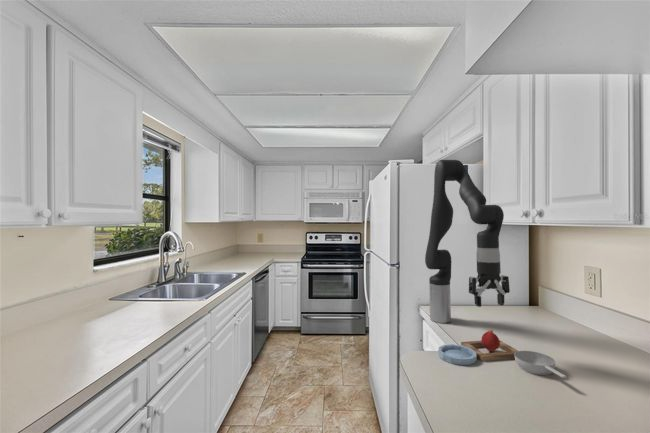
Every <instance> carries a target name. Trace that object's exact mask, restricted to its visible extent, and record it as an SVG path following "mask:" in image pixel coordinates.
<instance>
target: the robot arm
mask: <svg viewBox="0 0 650 433" xmlns="http://www.w3.org/2000/svg"><path fill="white" fill-rule="evenodd" d="M433 180H434V181H433V183H434V184H433V200H432V206H431V207H432V208H431V216H430V227H429V236H428V241H427V245H426V251H425V258H424V262H425V266H426V268H427V269H428V270H438V272H437V273H435V274H434V275H431V276H430V277H429V279H428V280H429V282H428V283H429V319H430V321H432V322H433V323H439V324H447V323H450V322H452V309H451V308H452V306H451V279H452V255H451V253H450V251H449V250H448V249H439V247H440V246H439V245H440V243H441V240H442V239H443V238H444V237H445V235H446V234H447V233H448V231H449V230H450V229H451V227H452V225H453V218H454V208H453V206H452V203H451V202H450V200H449V198H448V195H447V193H446V182H457V183H458V184H459V188H458V189H459V190H458V194H459V196H460V199H461V200H462V202H463V203H464V204H465V205H466V207H467V210H468V213H469V216H470V219H471V221H472V222H474V223H475V224H476V225H477V224H478V225H487V226H486V228H485V229H484V230H481V231H479V232H477V233H476V273H477V276H476V277H474V276H469V277H468V293H469V294H471V295H473V296H474V304H475V306H476V307H478V308H479V307H482V294H483V293H484V292H485V291H486V290H490V289H491V290H494V291H495V292H496V294H497V295H496V296H497V297H496V298H497V305H499V306H504V304H505V295H506V294H510V292H511V291H510V290H511V289H510V281H509V279H510V278H509V276H508V275H504V274H501V270H502V269H501V253H500V240H499V239H500V233H501V230H502V225H503V222H504V210H503V208H502V207H501V206H500V205H498V204H487V198H486V196H485V195H484V194H483V193H482V191H480V189H479V188H478V187H477V186H476V185H475V183H474V181H473V179H472V178H471V176H470V174H469V172H468V171H467V168H466V167H465V165H464V164H463V162H462V161H460V160H458V159H439V160H438V161H437V162H436V164H435V167H434V179H433ZM500 282H501V284H500Z"/></svg>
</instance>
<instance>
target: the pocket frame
mask: <svg viewBox="0 0 650 433" xmlns="http://www.w3.org/2000/svg"><path fill="white" fill-rule="evenodd" d="M499 341H500V346H499V348H498V349H501V350H503V351H500V352H498V351H497V352H488V353H487V352H486V353H484V352H482V351H481V350H479V349H478V348H485V347H484V346H483V345H482V342H481V340H471V341H461V342H460V345H462V346H465V347H468V348H471V349H472V350H474V351H475V352H476V355H477V359H479V360H480V361H481V362H490V361H501V360H502V361H503V360H504V361H505V360H514V359H515V355H514V354H515V352H518V351H519V350H518V349H517V348H514V347H512V346H511V345H509V344H507V343H506V342H503V341H501V340H500V339H499Z"/></svg>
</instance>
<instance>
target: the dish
mask: <svg viewBox="0 0 650 433" xmlns="http://www.w3.org/2000/svg"><path fill="white" fill-rule="evenodd" d="M438 357H439V358H440V359H441V360H442V361H444V362H445V363H448V364H451V365H458V366H471V365H473V364H475V363H476V362H477V359H478V358H477V355H476V352H475V351H474V350H472V349H471V348H468V347H465V346H462V345H461V344H453V343H451V344H443V345H440V346H439V347H438Z"/></svg>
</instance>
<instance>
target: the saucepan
mask: <svg viewBox="0 0 650 433" xmlns="http://www.w3.org/2000/svg"><path fill="white" fill-rule="evenodd" d="M514 355H515V361H514V362H516V364H517V366H518V367H519V368H520V369H521V370H522V371H525V372H526V373H530V374H533V375H538V376H548V375H551V374H552V373H553V374H555V375H557V376H559V377H560V378H561V379H567V378H568V377H567V375H565V374H563V373H561V372H559V371H558V370H556V369H555V368H556V360H555V359H554V358H553V357H551V356H549V355H547V354H544V353H541V352H538V351H531V350H518V352H515V354H514Z"/></svg>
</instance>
